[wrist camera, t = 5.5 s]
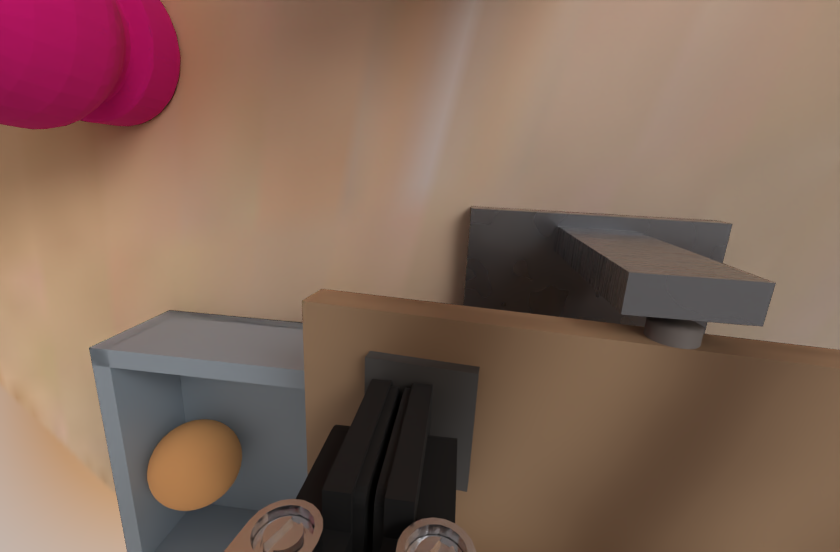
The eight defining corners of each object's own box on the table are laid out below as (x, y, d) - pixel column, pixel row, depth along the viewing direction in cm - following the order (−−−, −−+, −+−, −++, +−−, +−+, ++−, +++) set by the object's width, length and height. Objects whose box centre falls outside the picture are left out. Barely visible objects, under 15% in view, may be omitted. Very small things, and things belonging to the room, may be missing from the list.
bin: (419, 333, 19) (404, 381, 15) (408, 531, 22) (394, 618, 18) (169, 310, 20) (89, 347, 16) (192, 500, 24) (131, 573, 19)
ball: (240, 397, 21) (237, 445, 18) (245, 460, 22) (243, 517, 19) (152, 410, 20) (129, 466, 16) (162, 477, 21) (143, 543, 17)
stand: (717, 220, 16) (971, 273, 8) (632, 567, 21) (736, 822, 13) (471, 206, 17) (472, 239, 9) (444, 539, 22) (429, 758, 14)
